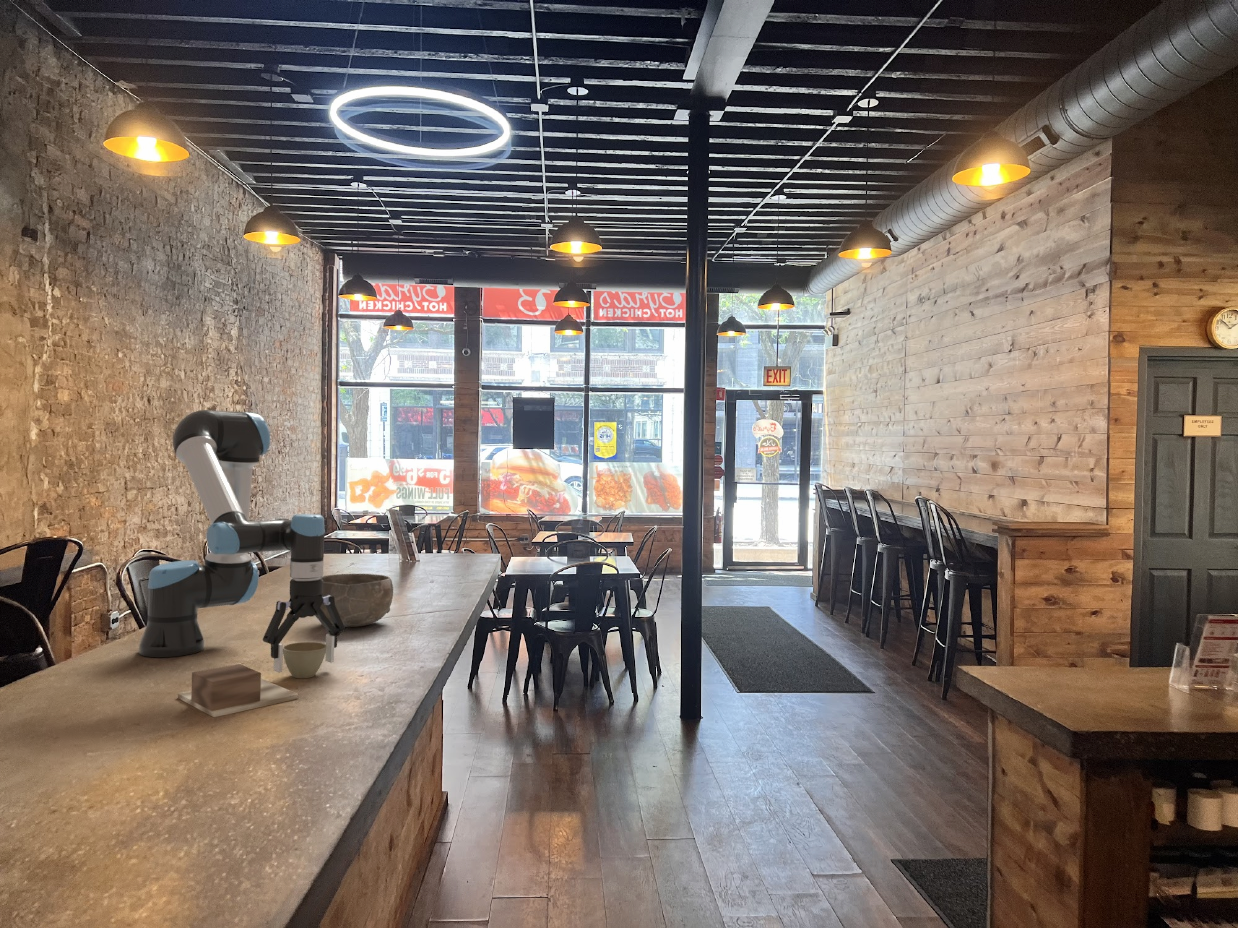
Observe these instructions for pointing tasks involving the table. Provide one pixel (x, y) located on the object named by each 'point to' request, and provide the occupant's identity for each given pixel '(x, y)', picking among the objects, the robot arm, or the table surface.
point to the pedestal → (225, 687)
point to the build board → (267, 697)
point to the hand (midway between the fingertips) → (304, 666)
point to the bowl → (358, 597)
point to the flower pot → (304, 658)
